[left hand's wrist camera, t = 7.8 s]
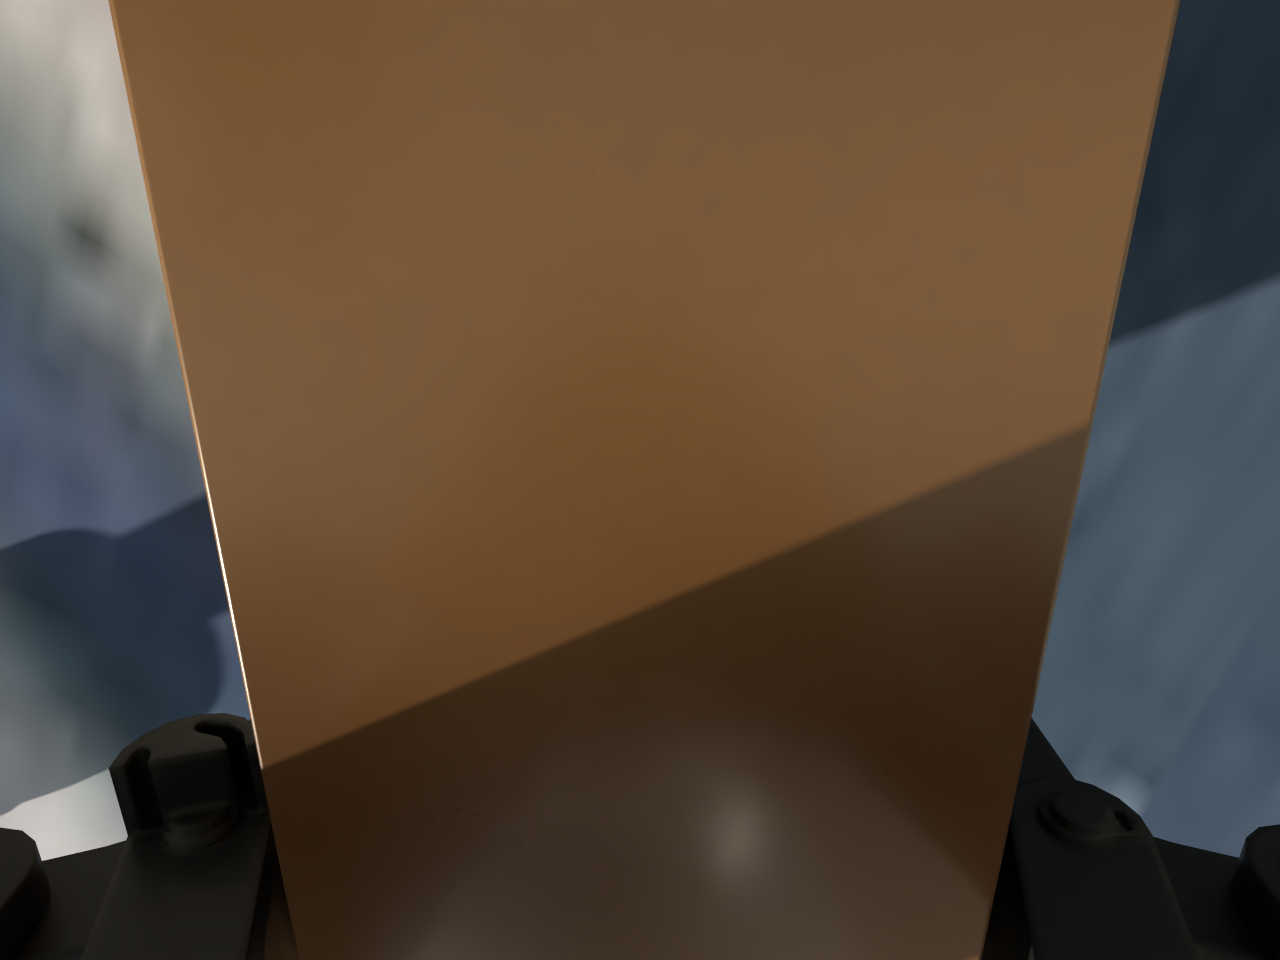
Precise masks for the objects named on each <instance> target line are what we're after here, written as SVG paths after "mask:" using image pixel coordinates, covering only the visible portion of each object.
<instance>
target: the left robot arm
mask: <svg viewBox="0 0 1280 960" xmlns="http://www.w3.org/2000/svg"><path fill="white" fill-rule="evenodd" d="M109 771H110V774H111V778H112V781H113V785H114V788H115V792H116V795H117V799H118V802H119V806H120V809H121V813H122V816H123V820H124V823H125V827H126V830H127V834H128V837H127V840H126V841H123V842H119V843H116V844H113V845H109V846H106V847H101V848H97V849H93V850H88V851H84V852H80V853H75V854H71V855H67V856H62V857H58V858H54V859H49V860H45V861H42V860H41V857H40V854H39V851H38V848H37V845H36V842H35V841H34V840H33V839H32V838H31V837H29V836H28V835H27V834H26V833H24V832H23V831H21V830H13V829H6V828H0V960H298V955H297V950H296V945H295V940H294V935H293V930H292V924H291V919H290V914H289V909H288V904H287V899H286V894H285V889H284V884H283V879H282V874H281V869H280V864H279V859H278V854H277V849H276V844H275V839H274V834H273V828H272V823H271V818H270V813H269V808H268V803H267V798H266V793H265V788H264V783H263V778H262V773H261V768H260V763H259V758H258V753H257V748H256V743H255V738H254V732H253V727H252V722H251V719H250V720H249V721H248V720H247V719H246V718H243V717H239V716H235V715H230V714H226V713H219V714H199V715H195V716H191V717H187V718H183V719H180V720H176V721H172V722H169V723H167V724H165V725H163V726H161V727H158V728H156V729H154V730H152V731H150V732H148V733H145V734H144V735H142V736H141V737H140V738H138V739H137V740H135V741H134V742H133V743H131V744H130V745H129V746H127V747H126V748H125V749H123V750H122V751H121V753H120V754H119V755H118V757H117V758H116V759H115V760H114V762H113V763H112V764H111V766H110V767H109ZM981 960H1280V824H1279V825H1272V826H1264V827H1259V828H1257V829H1256V830H1255V831H1254V832H1252V833H1251V834H1250V835H1249V836H1248V837H1246V840H1245V843H1244V846H1243V849H1242V851H1241V854H1240V857H1239V858H1237V857H1233V856H1228V855H1224V854H1220V853H1215V852H1211V851H1207V850H1202V849H1198V848H1194V847H1189V846H1185V845H1181V844H1176V843H1172V842H1169V841H1166V840H1162V839H1159V838H1156V837H1153V836H1152V834H1151V832H1150V831H1149V829H1148V828H1147V826H1146V825H1145V823H1144V822H1143V820H1142V819H1141V817H1140V816H1139V815H1138V814H1137V813H1136V812H1135V811H1133V810H1132V809H1131V808H1130V807H1129V806H1127V805H1126V804H1125V803H1124V802H1123V801H1121V800H1120V799H1119V798H1117V797H1115V796H1113V795H1111V794H1110V793H1108V792H1106V791H1104V790H1102V789H1100V788H1098V787H1096V786H1094V785H1091V784H1088V783H1084V782H1081V781H1077V780H1075V779H1074V777H1073V776H1072V775H1071V773H1070V772H1069V770H1068V769H1067V768H1066V766H1065V765H1064V763H1063V762H1062V760H1061V759H1060V758H1059V756H1058V755H1057V753H1056V752H1055V750H1054V749H1053V748H1052V746H1051V745H1050V743H1049V742H1048V741H1047V739H1046V738H1045V736H1044V735H1043V733H1042V732H1041V731H1040V729H1039V728H1038V726H1037V725H1036V723H1035V722H1034V721H1033V719H1032V718H1031V722H1030V727H1029V731H1028V736H1027V741H1026V746H1025V751H1024V756H1023V760H1022V765H1021V770H1020V775H1019V780H1018V784H1017V789H1016V794H1015V799H1014V804H1013V808H1012V813H1011V818H1010V823H1009V828H1008V832H1007V837H1006V842H1005V847H1004V852H1003V857H1002V861H1001V866H1000V871H999V876H998V881H997V885H996V890H995V895H994V900H993V905H992V909H991V914H990V919H989V924H988V929H987V933H986V938H985V943H984V948H983V953H982V958H981Z"/></svg>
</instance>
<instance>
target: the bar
mask: <svg viewBox="0 0 1280 960" xmlns="http://www.w3.org/2000/svg"><path fill="white" fill-rule="evenodd" d="M109 5H110V10H111V15H112V20H113V25H114V30H115V35H116V40H117V45H118V50H119V55H120V61H121V66H122V71H123V76H124V81H125V86H126V91H127V96H128V101H129V106H130V111H131V116H132V121H133V126H134V131H135V136H136V141H137V146H138V151H139V157H140V162H141V167H142V172H143V177H144V182H145V187H146V192H147V197H148V202H149V207H150V212H151V217H152V222H153V227H154V232H155V237H156V242H157V247H158V253H159V258H160V263H161V268H162V273H163V278H164V283H165V288H166V293H167V298H168V303H169V308H170V313H171V318H172V323H173V328H174V333H175V338H176V343H177V349H178V354H179V359H180V364H181V369H182V374H183V379H184V384H185V389H186V394H187V399H188V404H189V409H190V414H191V419H192V424H193V429H194V434H195V439H196V445H197V450H198V455H199V460H200V465H201V470H202V475H203V480H204V485H205V490H206V495H207V500H208V505H209V510H210V515H211V520H212V525H213V530H214V535H215V541H216V546H217V551H218V556H219V561H220V566H221V571H222V576H223V581H224V586H225V591H226V596H227V601H228V606H229V611H230V616H231V621H232V626H233V631H234V636H235V642H236V647H237V652H238V657H239V662H240V667H241V672H242V677H243V682H244V687H245V692H246V697H247V702H248V707H249V712H250V717H251V722H252V727H253V732H254V738H255V743H256V748H257V753H258V758H259V763H260V768H261V773H262V778H263V783H264V788H265V793H266V798H267V803H268V808H269V813H270V818H271V823H272V828H273V834H274V839H275V844H276V849H277V854H278V859H279V864H280V869H281V874H282V879H283V884H284V889H285V894H286V899H287V904H288V909H289V914H290V919H291V924H292V930H293V935H294V940H295V945H296V950H297V955H298V960H981V958H982V953H983V948H984V943H985V938H986V933H987V929H988V924H989V919H990V914H991V909H992V905H993V900H994V895H995V890H996V885H997V881H998V876H999V871H1000V866H1001V861H1002V857H1003V852H1004V847H1005V842H1006V837H1007V832H1008V828H1009V823H1010V818H1011V813H1012V808H1013V804H1014V799H1015V794H1016V789H1017V784H1018V780H1019V775H1020V770H1021V765H1022V760H1023V756H1024V751H1025V746H1026V741H1027V736H1028V731H1029V727H1030V722H1031V717H1032V712H1033V707H1034V703H1035V698H1036V693H1037V688H1038V683H1039V679H1040V674H1041V669H1042V664H1043V659H1044V655H1045V650H1046V645H1047V640H1048V635H1049V630H1050V626H1051V621H1052V616H1053V611H1054V606H1055V602H1056V597H1057V592H1058V587H1059V582H1060V578H1061V573H1062V568H1063V563H1064V558H1065V554H1066V549H1067V544H1068V539H1069V534H1070V529H1071V525H1072V520H1073V515H1074V510H1075V505H1076V501H1077V496H1078V491H1079V486H1080V481H1081V477H1082V472H1083V467H1084V462H1085V457H1086V453H1087V448H1088V443H1089V438H1090V433H1091V428H1092V424H1093V419H1094V414H1095V409H1096V404H1097V400H1098V395H1099V390H1100V385H1101V380H1102V376H1103V371H1104V366H1105V361H1106V356H1107V352H1108V347H1109V342H1110V337H1111V332H1112V327H1113V323H1114V318H1115V313H1116V308H1117V303H1118V299H1119V294H1120V289H1121V284H1122V279H1123V275H1124V270H1125V265H1126V260H1127V255H1128V251H1129V246H1130V241H1131V236H1132V231H1133V226H1134V222H1135V217H1136V212H1137V207H1138V202H1139V198H1140V193H1141V188H1142V183H1143V178H1144V174H1145V169H1146V164H1147V159H1148V154H1149V150H1150V145H1151V140H1152V135H1153V130H1154V125H1155V121H1156V116H1157V111H1158V106H1159V101H1160V97H1161V92H1162V87H1163V82H1164V77H1165V73H1166V68H1167V63H1168V58H1169V53H1170V49H1171V44H1172V39H1173V34H1174V29H1175V24H1176V20H1177V15H1178V10H1179V5H1180V0H109Z"/></svg>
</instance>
